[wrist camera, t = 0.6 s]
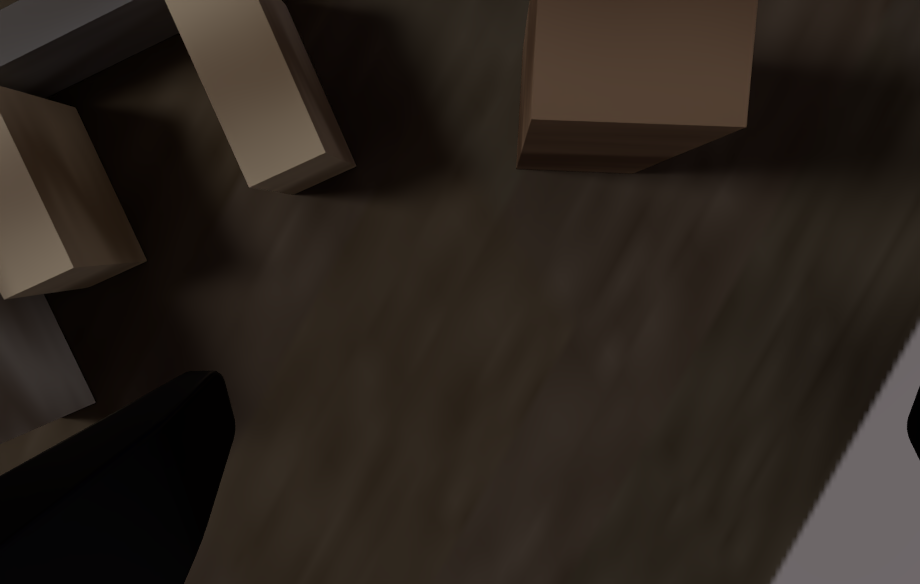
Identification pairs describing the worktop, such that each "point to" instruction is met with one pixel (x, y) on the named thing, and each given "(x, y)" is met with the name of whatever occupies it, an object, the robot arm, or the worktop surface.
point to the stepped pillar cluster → (84, 178)
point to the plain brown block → (631, 81)
